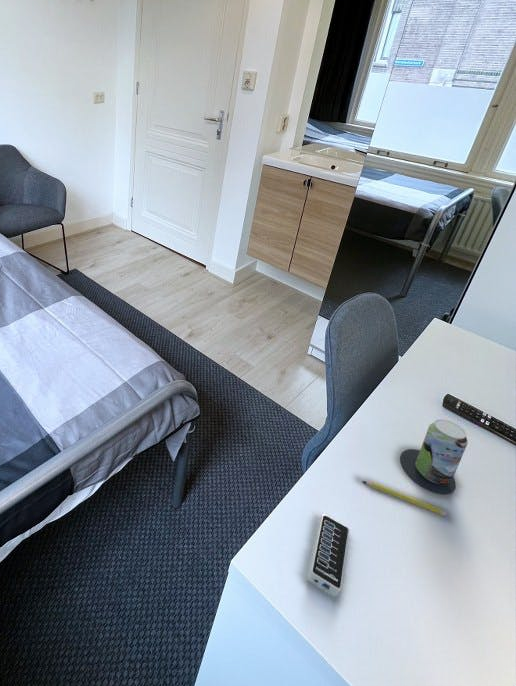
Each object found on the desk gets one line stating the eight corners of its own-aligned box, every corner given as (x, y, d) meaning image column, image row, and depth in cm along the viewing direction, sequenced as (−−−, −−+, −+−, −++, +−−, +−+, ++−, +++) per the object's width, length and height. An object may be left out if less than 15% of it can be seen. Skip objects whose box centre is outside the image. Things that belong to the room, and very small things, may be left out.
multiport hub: (345, 535, 72) (349, 527, 71) (336, 598, 64) (341, 591, 63) (318, 520, 74) (322, 512, 73) (306, 579, 66) (310, 572, 65)
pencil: (360, 480, 82) (362, 477, 82) (443, 512, 78) (445, 509, 77) (361, 484, 81) (362, 481, 81) (444, 517, 77) (447, 514, 76)
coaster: (458, 472, 85) (459, 471, 85) (450, 505, 79) (450, 504, 79) (406, 441, 91) (406, 440, 91) (394, 469, 84) (395, 468, 84)
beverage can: (436, 493, 80) (466, 453, 75) (400, 460, 86) (426, 420, 80) (456, 482, 83) (486, 442, 77) (420, 451, 89) (446, 411, 83)
